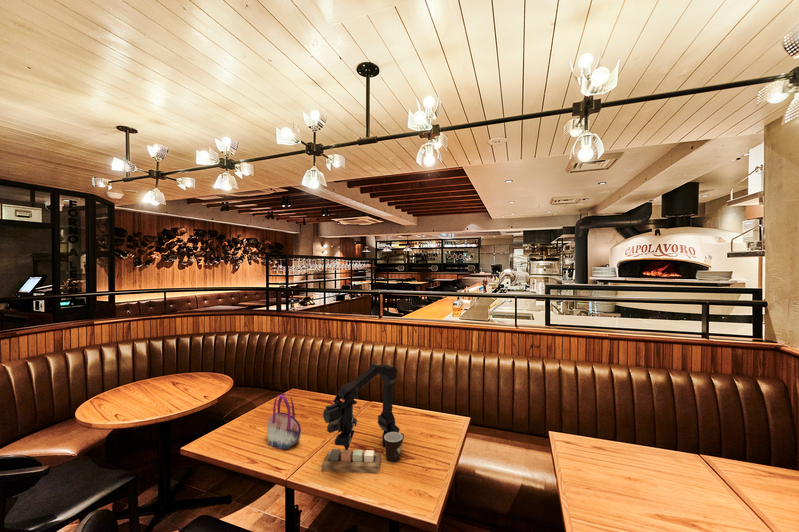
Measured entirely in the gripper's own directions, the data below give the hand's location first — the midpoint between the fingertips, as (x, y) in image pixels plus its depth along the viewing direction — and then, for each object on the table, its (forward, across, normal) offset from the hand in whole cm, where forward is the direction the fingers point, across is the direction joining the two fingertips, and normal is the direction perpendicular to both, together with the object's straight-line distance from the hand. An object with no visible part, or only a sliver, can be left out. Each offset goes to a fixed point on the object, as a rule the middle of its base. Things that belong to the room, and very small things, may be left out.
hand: (346, 449), depth 141 cm
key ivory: (+5, 0, +10) cm, 11 cm away
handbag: (+7, -15, -36) cm, 40 cm away
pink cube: (+5, 0, 0) cm, 5 cm away
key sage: (+5, 0, +5) cm, 7 cm away
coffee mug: (+7, -7, +22) cm, 24 cm away
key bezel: (+7, 0, +2) cm, 7 cm away
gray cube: (+5, 0, -5) cm, 7 cm away
